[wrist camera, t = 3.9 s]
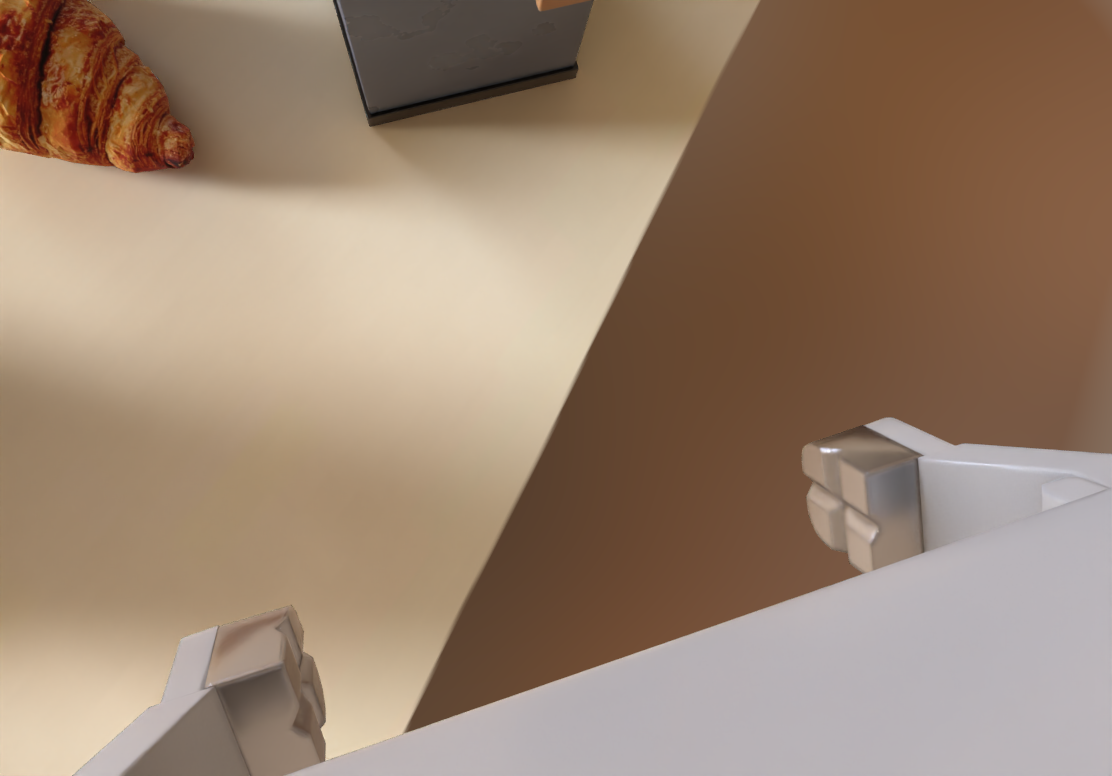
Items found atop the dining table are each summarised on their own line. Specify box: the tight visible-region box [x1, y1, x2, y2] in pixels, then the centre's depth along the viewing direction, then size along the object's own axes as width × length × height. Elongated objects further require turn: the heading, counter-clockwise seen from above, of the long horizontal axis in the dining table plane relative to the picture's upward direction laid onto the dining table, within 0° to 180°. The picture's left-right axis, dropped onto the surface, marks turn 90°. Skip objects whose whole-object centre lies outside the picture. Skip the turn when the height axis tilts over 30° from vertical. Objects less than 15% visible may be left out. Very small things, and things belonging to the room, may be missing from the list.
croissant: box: [0, 0, 195, 173], centre depth 43 cm, size 21×10×8 cm, turn 62°
